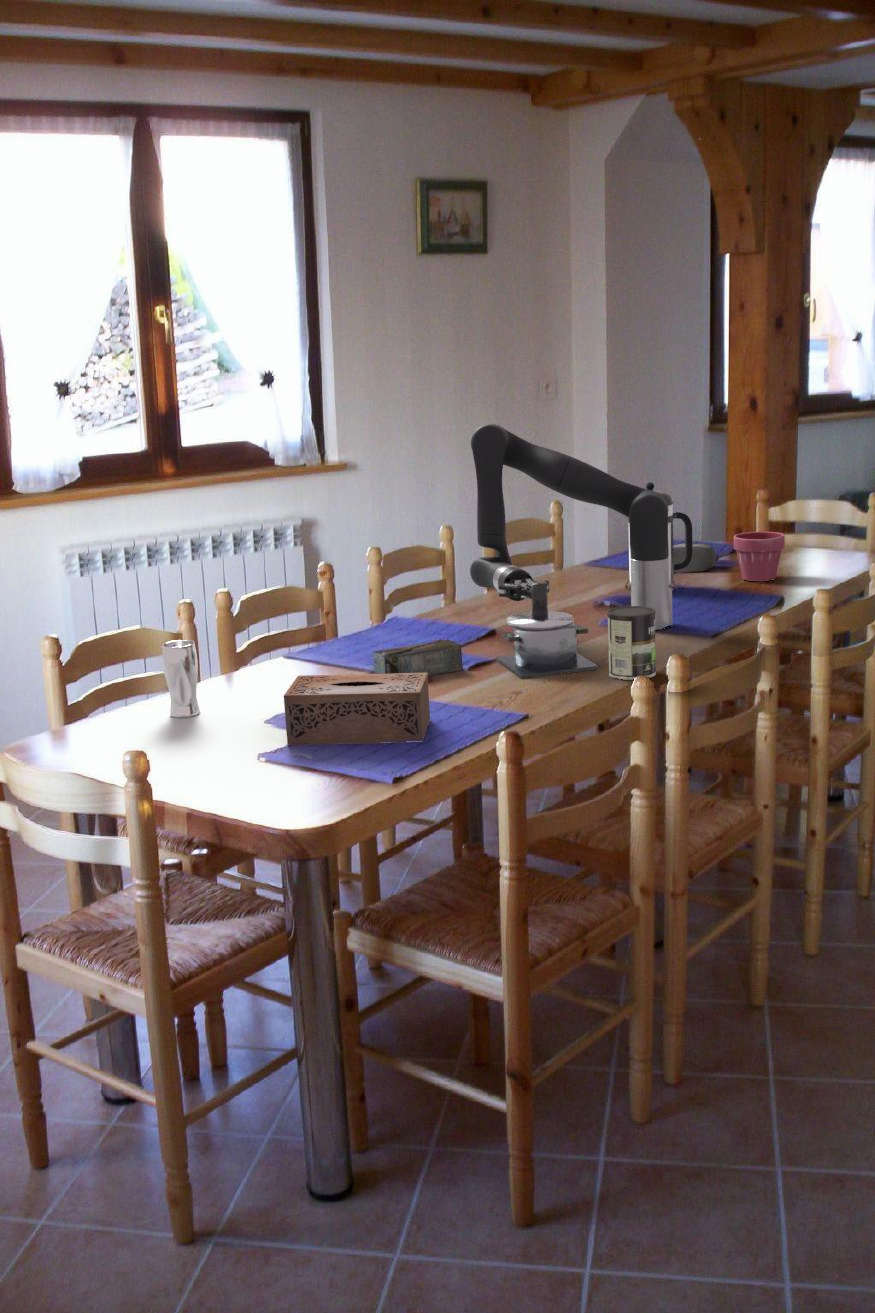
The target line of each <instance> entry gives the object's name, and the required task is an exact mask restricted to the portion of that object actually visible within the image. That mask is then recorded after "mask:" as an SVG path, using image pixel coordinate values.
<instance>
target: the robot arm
mask: <svg viewBox="0 0 875 1313" xmlns="http://www.w3.org/2000/svg"><path fill="white" fill-rule="evenodd" d="M470 447H471V451H472V456H473V462H474V467H475V475H476V487H477V491H476V492H477V493H476V494H477V498H476V499H477V502H476V504H477V505H476V506H477V507H476V510H477V511H476V514H477V515H476V523H477V524H476V528H477V529H476V531H477V532H476V533H477V535H476V537H477V538H476V540H477V544H478V546H480V547H482V548H487V549H491V550H493V551H495V554H496V556H487V557H485V556H484V557H478V558H475V559H474V560H473V561H472V563H471V565H470V568H469V572H470V573H469V574H470V578H471V580H472V581H473V583H474V584H475V585H476V586H478V587H481V588H487V589H494V590H496V591H497V592H498V597H500V598H508V599H509V600H510V601H513V602H520V601H523V600H526V599H530V600H531V583H533V582H539V581H538V580H534V579H533V577H532V576H531V574H530V573H529V572H528V571H526V570H524V569H522V568H521V567H518V566H516V565H513V562H512V559H511V557H510V553H509V548H508V545H507V537H506V536H507V534H506V532H507V531H506V529H507V528H506V525H507V524H506V509H505V501H504V500H505V499H504V492H503V469H504V466H505V467H508V468H511V469H515V470H517V471H520V472H522V473H523V474H525V475H527V476H529V477H530V478H531V479H533V480H535V481H536V482H538V483H539V484H541V485H543V486H544V487H546V488H548V489H550V490H552V491H554V492H556V493H559V494H561V495H563V496H565V497H568V498H571V499H572V500H576V501H579V502H584V503H588V504H591V505H598V506H602V507H605V508H608V509H611V510H612V511H615V512H617V513H619V514H621V515H623V516H624V517H627V519H628V518H629V522H628V525H629V531H628V533H629V532H630V554H631V583H630V587H631V588H630V604H631V605H630V606H642V607H649V608H652V609H654V610H655V631H656V630H663V628H664V629H666V628H665V627H667V626H668V625H672V626H673V591H672V589H671V588H669V586H670V585H669V559H668V557H669V546H668V504H667V501H666V499H665V498H664V497H663V496H662V495H661V494H659V493H657V492H655V491H656V490H653V491H652V490H648V489H647V488H646V487H642V486H641V487H640V486H637V485H634V484H631V483H628V482H625V481H623V480H621V479H618V478H616V477H614V476H613V475H611V474H609V473H607V472H605V471H603V470H601V469H599V468H597V467H595V466H593V465H591V464H589V463H587V462H584V461H582V460H580V459H578V458H575V457H573V456H570V455H568V454H565V453H562V452H560V451H557V450H554V449H551V448H547V447H543V446H539V445H537V444H534V443H532V442H529V441H527V440H525V439H524V438H521V437H519V436H518V435H516V434H514V433H513V432H511V431H509V430H507V429H506V428H504V427H503V426H501V425H498V424H494V423H487V424H483V425H481V426H479V427H478V428H476V429H475V431H474V432H473V433H472V436H471V439H470ZM543 582H546V583H547V594H548V593H549V592H550V580H544V581H543ZM667 628H668V627H667Z"/></svg>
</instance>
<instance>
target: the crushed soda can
mask: <svg viewBox="0 0 875 1313" xmlns="http://www.w3.org/2000/svg"><path fill="white" fill-rule="evenodd" d="M161 647H162V666H163V667H162V668H163V673H164V678H165V681H166V685H167V689H168V691H169V695H170V710H169V713H170V716H171V717H172V718H177V719H184V718H185V719H187V718H191V717H196V716H198V715H199V714H200V713H201V710H200V706H199V703H198V702H199V701H198V698H197V687H198V686H197V685H198V674H199V673H198V672H199V666H198V663H199V662H198V656H197V650H196V649H197V648H196V644H195V641H194V640H192V639H178V640H177V639H176V640H170V641H167V642H164V643H162V645H161Z"/></svg>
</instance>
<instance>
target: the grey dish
mask: <svg viewBox="0 0 875 1313" xmlns="http://www.w3.org/2000/svg"><path fill="white" fill-rule="evenodd" d="M719 557H720V556H719V554H718V553H716V551H715V549H714V547H713V546H711V545H709V544H705V543H695V544H693V543H692V558H691V561H690V563H689V564H688V565H687V566H686V567H685V568H682V569H679V570H674V572H676V573H675V574H681V573H682V574H684V572H685V573H692V572H704V571H706V570H708V569H710V568H713V567H714V565H715V563H716V562H717V561H718V560H719ZM684 558H685V543H680V544H673V564H677V563H680V562H682V561H683V560H684Z"/></svg>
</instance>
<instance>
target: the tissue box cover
mask: <svg viewBox="0 0 875 1313" xmlns="http://www.w3.org/2000/svg"><path fill="white" fill-rule="evenodd" d="M283 694H284V695H283V704H284V717H285V728H286V730H285V731H286V742H287V746H305V745H309V746H310V745H314V746H315V745H345V744H346V745H358V744H365V743H366V744H384V743H383V742H406V741H423V742H424V740H423V737H424V735H425V736H426V734H425V732H426V733H427V731H426V730H428V728H427V726H428V727H429V725H428V724H430V722H429V720H430V721H431V716H430V715H431V714H430V713H431V712H430V697H429V696H430V695H429V676H428V673H389V674H374V673H360V674H358V673H357V674H355V673H353V674H351V673H350V674H314V675H312V674H311V675H297V677H296V678H295V679H294V680H293V682H292V684H290V686H289V688H288V689H287V690H286V691H285V693H283ZM424 738H425V737H424ZM381 742H382V743H381ZM366 744H365V745H366Z"/></svg>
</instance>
